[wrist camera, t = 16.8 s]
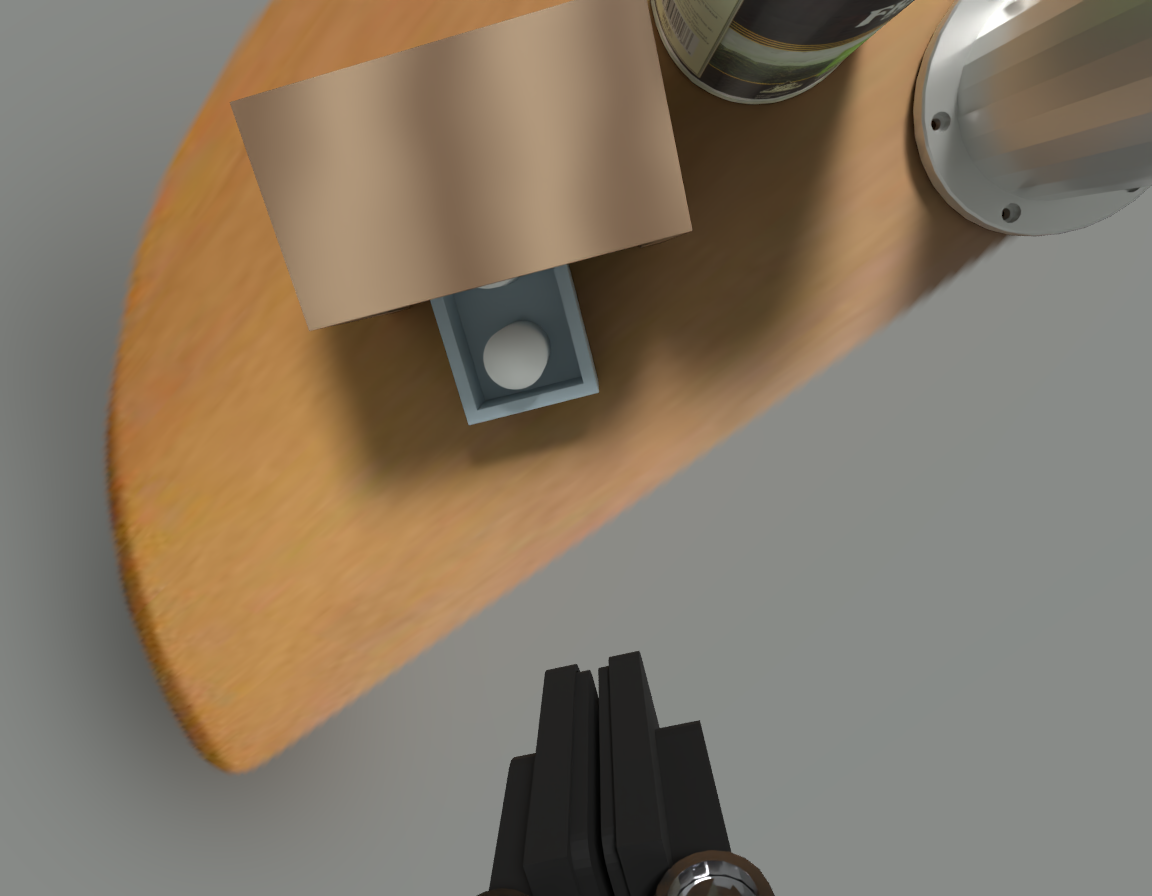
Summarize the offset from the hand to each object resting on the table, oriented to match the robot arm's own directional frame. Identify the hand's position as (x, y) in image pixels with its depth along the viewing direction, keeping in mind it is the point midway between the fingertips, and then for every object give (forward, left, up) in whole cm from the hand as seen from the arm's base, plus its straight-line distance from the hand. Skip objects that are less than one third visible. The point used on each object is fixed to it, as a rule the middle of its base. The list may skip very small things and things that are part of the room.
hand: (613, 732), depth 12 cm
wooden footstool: (+2, -12, -25) cm, 28 cm away
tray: (+3, -7, -25) cm, 26 cm away
